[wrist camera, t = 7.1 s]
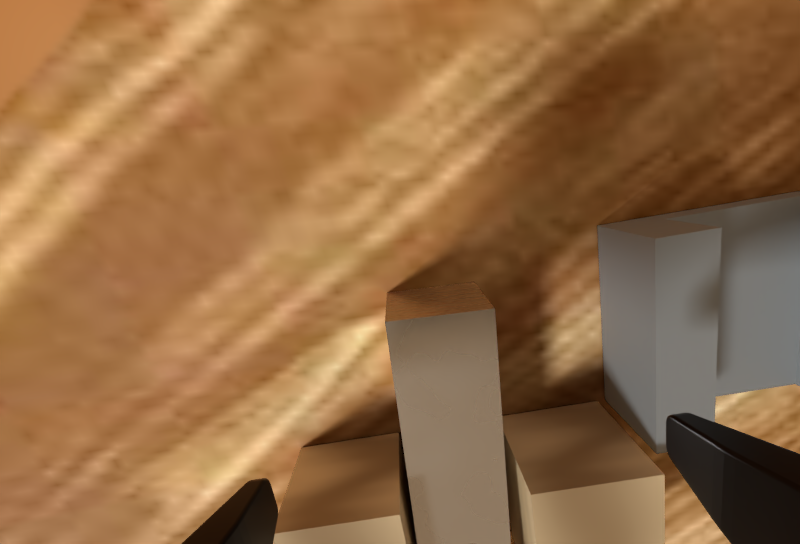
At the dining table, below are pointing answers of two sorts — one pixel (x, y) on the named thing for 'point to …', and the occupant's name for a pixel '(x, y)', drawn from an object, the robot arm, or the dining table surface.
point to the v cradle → (699, 308)
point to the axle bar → (450, 412)
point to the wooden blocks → (526, 486)
